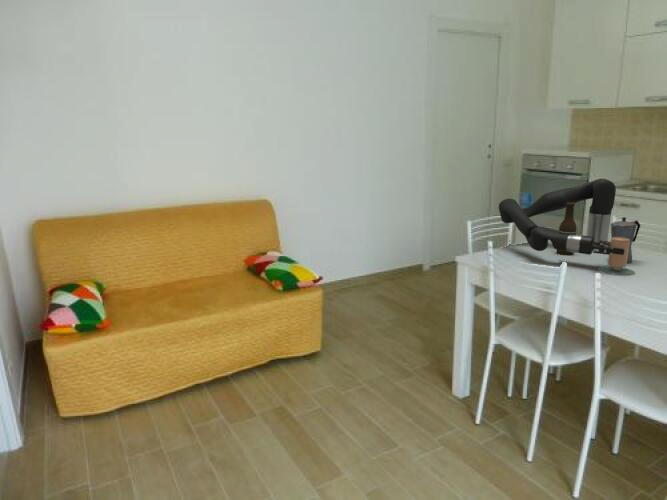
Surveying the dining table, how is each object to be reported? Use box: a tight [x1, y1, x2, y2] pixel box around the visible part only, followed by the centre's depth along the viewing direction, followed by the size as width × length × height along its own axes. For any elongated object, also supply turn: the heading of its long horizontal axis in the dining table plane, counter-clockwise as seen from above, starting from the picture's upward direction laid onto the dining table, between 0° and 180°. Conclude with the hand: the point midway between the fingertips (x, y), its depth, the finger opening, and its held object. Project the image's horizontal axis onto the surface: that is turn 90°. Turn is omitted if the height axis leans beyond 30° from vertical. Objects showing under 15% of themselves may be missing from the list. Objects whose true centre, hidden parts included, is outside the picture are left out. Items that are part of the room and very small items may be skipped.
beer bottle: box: [556, 202, 578, 257], centre depth 225 cm, size 8×8×24 cm
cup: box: [607, 237, 630, 268], centre depth 197 cm, size 6×6×11 cm
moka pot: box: [610, 216, 641, 265], centre depth 211 cm, size 10×15×20 cm, turn 111°
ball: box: [612, 266, 623, 271], centre depth 199 cm, size 3×3×3 cm
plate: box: [598, 265, 636, 277], centre depth 200 cm, size 13×13×1 cm
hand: (625, 250), depth 196 cm, fingers closed on cup, 6 cm apart
